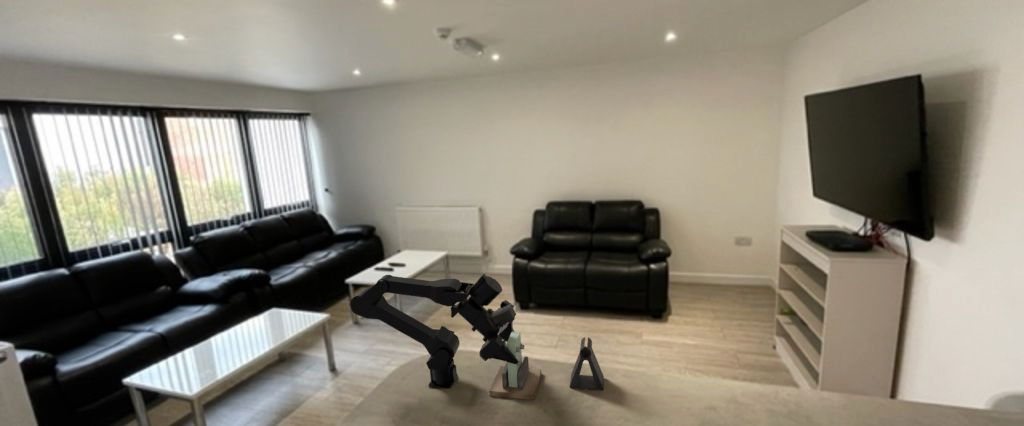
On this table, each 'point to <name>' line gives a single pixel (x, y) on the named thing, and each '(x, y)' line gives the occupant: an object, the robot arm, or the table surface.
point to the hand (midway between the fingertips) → (519, 354)
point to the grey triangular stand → (587, 354)
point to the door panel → (515, 349)
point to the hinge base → (526, 380)
